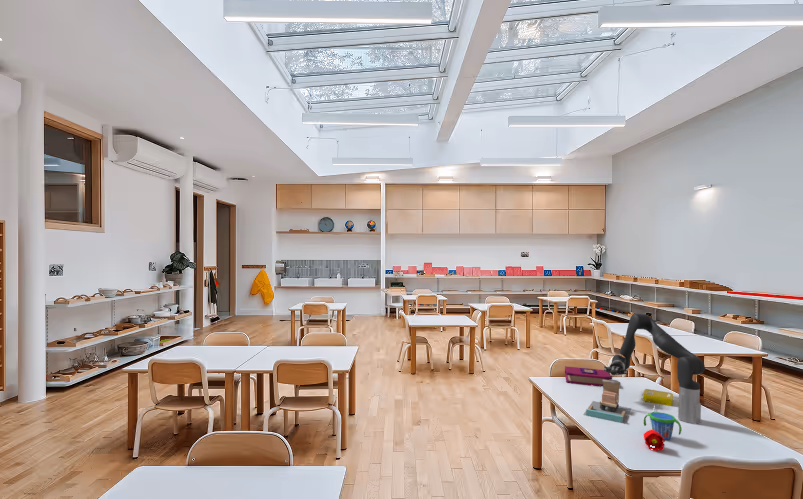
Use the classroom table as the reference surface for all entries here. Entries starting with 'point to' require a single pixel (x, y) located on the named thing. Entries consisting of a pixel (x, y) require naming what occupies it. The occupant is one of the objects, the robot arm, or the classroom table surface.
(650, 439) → the flower
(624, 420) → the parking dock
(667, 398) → the element tile
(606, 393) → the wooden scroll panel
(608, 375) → the book
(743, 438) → the classroom table surface
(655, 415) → the snack cup
